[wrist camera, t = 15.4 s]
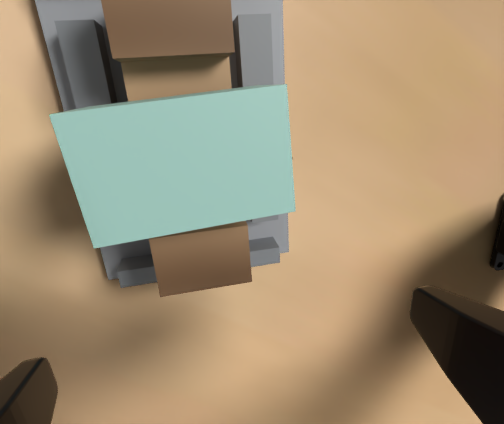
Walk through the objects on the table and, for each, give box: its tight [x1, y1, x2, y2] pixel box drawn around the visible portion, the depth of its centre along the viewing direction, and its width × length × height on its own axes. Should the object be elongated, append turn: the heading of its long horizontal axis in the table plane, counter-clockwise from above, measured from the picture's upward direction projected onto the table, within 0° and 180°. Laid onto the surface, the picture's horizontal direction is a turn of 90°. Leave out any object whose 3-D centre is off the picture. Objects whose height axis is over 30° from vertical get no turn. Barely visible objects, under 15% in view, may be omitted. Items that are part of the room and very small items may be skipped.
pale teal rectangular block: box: [49, 84, 295, 248], centre depth 12 cm, size 6×4×4 cm, turn 97°
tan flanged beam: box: [101, 0, 252, 297], centre depth 15 cm, size 12×4×6 cm, turn 4°
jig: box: [35, 0, 289, 288], centre depth 17 cm, size 16×11×2 cm
